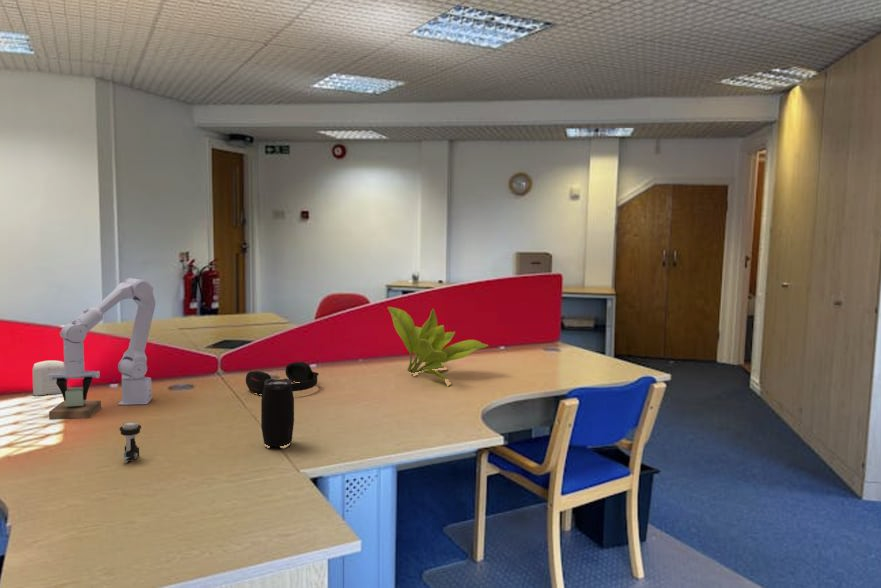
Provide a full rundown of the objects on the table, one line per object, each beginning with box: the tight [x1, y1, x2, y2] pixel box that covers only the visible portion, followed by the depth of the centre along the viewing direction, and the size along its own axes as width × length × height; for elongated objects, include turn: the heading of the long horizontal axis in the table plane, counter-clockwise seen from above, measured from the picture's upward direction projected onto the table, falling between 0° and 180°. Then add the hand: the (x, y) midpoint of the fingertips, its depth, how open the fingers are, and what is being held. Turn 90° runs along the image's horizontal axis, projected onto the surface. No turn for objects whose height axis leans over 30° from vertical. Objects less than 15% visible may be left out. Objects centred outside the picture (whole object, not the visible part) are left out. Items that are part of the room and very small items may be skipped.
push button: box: [119, 421, 142, 464], centre depth 177 cm, size 7×5×10 cm
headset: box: [245, 361, 320, 394], centre depth 256 cm, size 28×26×9 cm
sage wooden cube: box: [65, 386, 86, 407], centre depth 216 cm, size 5×5×5 cm
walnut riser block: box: [48, 400, 102, 420], centre depth 217 cm, size 12×12×3 cm
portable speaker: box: [260, 378, 295, 446], centre depth 192 cm, size 9×9×20 cm
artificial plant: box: [387, 306, 489, 382], centre depth 281 cm, size 42×43×30 cm
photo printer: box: [32, 359, 65, 397], centre depth 238 cm, size 10×4×12 cm, turn 123°
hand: (75, 399), depth 216 cm, fingers closed on sage wooden cube, 5 cm apart
